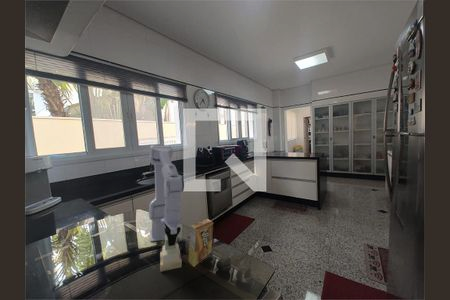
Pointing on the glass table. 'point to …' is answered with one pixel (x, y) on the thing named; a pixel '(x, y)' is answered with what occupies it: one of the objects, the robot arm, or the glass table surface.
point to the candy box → (200, 241)
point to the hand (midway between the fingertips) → (171, 241)
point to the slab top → (170, 254)
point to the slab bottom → (170, 264)
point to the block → (168, 245)
